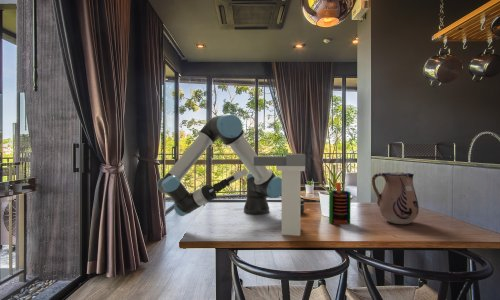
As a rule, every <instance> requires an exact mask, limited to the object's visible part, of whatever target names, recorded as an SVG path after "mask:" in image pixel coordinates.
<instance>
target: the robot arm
mask: <svg viewBox="0 0 500 300" xmlns="http://www.w3.org/2000/svg"><path fill="white" fill-rule="evenodd" d="M197 134H198V136H197V137H196V138H195V139H194V141H193V142H192V143H191V144H190V145H189V147H188V148H187V149H186V150H185V151H184V153H183V154H182V155H181V156H180V157H179V158H178V160H177V161H176V162H175V164H174V165H173V166H172V167H171V168H170V169H169V171H167V173H166V174H165V175H164V176H163V177H161V178H159V179H158V180H157V183H156V187H157V189H158V191H159V192H160V193H163V194H165V195H168V196H169V197H170V198H171V199H172V200H173V202H174V204H173V209H174V211H175V213H176V215H178V216H180V217H184V216H187V215H188V214H191V213H192V212H194V211H196V210H197V209H199V208H201V207H205V206H206V204H208V203H209V202H211V201H213V200H215V199H216V198H217V193H219V192H221V191H222V190H223V189H225V188H226V187H229V186H230V185H231V184H232V183H234V182H237V181H238V180H239V179H241V178H243V177H245V176H246V200H245V203H244V206H243V212H244V213H245V212H246V213H245V214H249V213H251V215H262V214H263V213H265V214H268V213H269V212H270V206H269V203H268V200H267V198H269V199H276V198H277V199H278V198H279V197H280V196H282V177H280V176H277V175H275V173H274V172H273V171H272V169H269V168H267V166H254V156H258V154H257V153H256V151H255V150H254V149H253V147H252V145H250V143H249V141H248V140H247V139H246V138H245V136H244V134H245V131H244V130H243V123H242V120H241V119H240V118H239V117H238V116H237V115H236V114H233V113H224V114H221V115H216V116H213V117H211V118H210V119H209V120H208V121H207V122H206V123H205V124H204V125H203V127H202V128H201V129H200V130H199V132H198V133H197ZM219 139H220V140H221V141H222V142H223V144H224V145H225V146H230V148H231V149H232V151H233V152H234V153H235V155H236V156H237V158H239V160H240V161H241V162H242V163H243V165H244V166H245V168H244V169H242V170H238V171H236V172H235V173H233V174H231V175H229V176H228V177H226V178H224V179H222V180H221V181H218V182H216V183H214V184H212V185H211V184H210V183H207V184H204V185H203V186H201V187H199V188H197V189H196V190H195V191H193V192H191V193H190V192H189V191H188V189H187V188H186V187H185V186H184V185H183V183H182V180H183V178H184V177H185V176H186V175H187V174H188V172H189V171H190V170H191V169H192V167H194V165H195V164H196V163H197V162H198V160H199V159H200V157H202V155H203V154H204V153H205V152H206V151H207V149H208V148H209V146H210V145H211V146H212V145H214V143H215V142H217V140H219ZM263 215H264V214H263Z"/></svg>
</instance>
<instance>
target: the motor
mask: <svg viewBox="0 0 500 300" xmlns="http://www.w3.org/2000/svg"><path fill="white" fill-rule="evenodd" d="M341 186H342V185H341V183H340V182H334V187H335V188H336V190H329V192H328V193H329V196H328V197H329V198H328V201H329V202H328V204H329V205H328V207H329V209H328V210H329V211H328V215H329V216H328V219H329V220H328V223H329V224H330V225H337V226H347V225H348V224H349V225H350V224H351V200H352V199H351V192H350V191H347V190H342V187H341Z"/></svg>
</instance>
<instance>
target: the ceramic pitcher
mask: <svg viewBox="0 0 500 300" xmlns="http://www.w3.org/2000/svg"><path fill="white" fill-rule="evenodd" d="M378 177H382V178H383V179H384V180H385V184H384V188H383V190H382V191H381V193H380V192H379V190H378V188H377V186H376V179H377V178H378ZM413 179H414V173H411V172H410V173H409V172H407V173H405V172H399V171H397V172H377V173H375V174H373V176H372V178H371V186H372V188H373V190H374V193H375V195H376V197H377V202H376V203H377V206H378V207H379V212H380V214H381V216H382V217H383V218H384V220H386V221H387V222H388V223H392V224H396V225H408V224H411V223H412V222H414V221H415V220H416V219H417V217H418V214H419V213H420V212H419V207H420V206H419V202H418V198H417V194H416V190H415V187H414V182H413V181H414V180H413Z"/></svg>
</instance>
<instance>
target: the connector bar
mask: <svg viewBox="0 0 500 300" xmlns="http://www.w3.org/2000/svg"><path fill="white" fill-rule="evenodd" d="M254 166H265V167H270V166H271V167H276V166H305V167H306V154H305V153H285V156H283V155H282V156H279V155H278V156H276V155H275V156H274V155H273V156H272V155H271V156H269V155H268V156H266V155H262V156H261V155H260V156H259V155H257V156H254Z"/></svg>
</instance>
